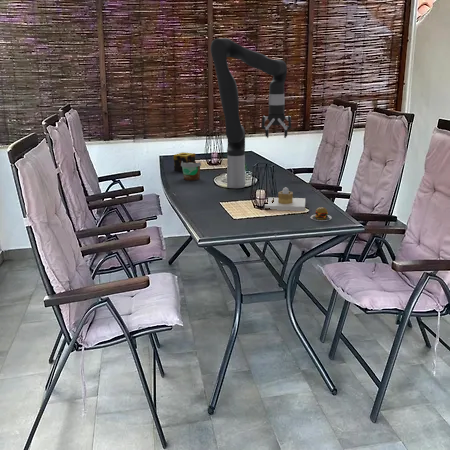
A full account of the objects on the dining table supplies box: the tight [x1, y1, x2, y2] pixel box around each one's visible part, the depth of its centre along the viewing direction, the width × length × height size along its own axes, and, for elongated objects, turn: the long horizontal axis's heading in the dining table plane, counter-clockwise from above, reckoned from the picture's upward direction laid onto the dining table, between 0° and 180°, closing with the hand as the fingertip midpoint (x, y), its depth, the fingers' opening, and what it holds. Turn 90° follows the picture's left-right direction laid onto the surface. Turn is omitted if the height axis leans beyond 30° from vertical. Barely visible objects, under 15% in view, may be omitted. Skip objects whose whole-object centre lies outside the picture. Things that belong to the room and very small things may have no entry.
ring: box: [277, 190, 294, 204], centre depth 232 cm, size 6×6×4 cm
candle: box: [173, 152, 197, 172], centre depth 313 cm, size 10×10×10 cm
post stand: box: [264, 186, 306, 212], centre depth 232 cm, size 18×14×9 cm
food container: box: [181, 161, 202, 182], centre depth 287 cm, size 12×6×10 cm, turn 68°
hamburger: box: [310, 206, 333, 222], centre depth 214 cm, size 12×12×6 cm
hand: (276, 137), depth 247 cm, fingers open, 8 cm apart
